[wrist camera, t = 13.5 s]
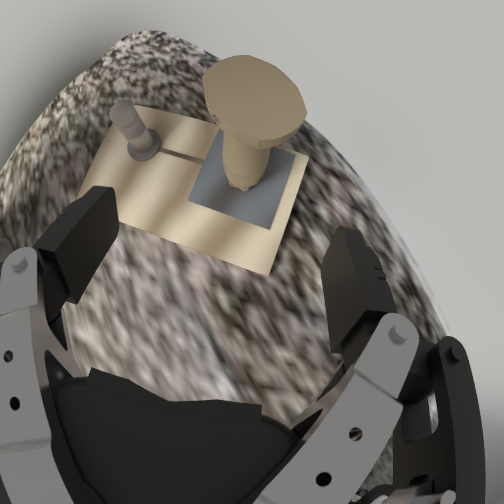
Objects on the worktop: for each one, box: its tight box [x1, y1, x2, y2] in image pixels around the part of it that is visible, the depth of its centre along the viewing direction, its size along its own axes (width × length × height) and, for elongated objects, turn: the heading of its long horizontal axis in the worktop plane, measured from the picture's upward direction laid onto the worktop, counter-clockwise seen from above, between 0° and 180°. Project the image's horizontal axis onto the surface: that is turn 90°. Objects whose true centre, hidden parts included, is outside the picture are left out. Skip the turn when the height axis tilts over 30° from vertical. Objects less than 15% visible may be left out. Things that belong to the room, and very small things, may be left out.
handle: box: [202, 55, 307, 191], centre depth 20 cm, size 5×6×15 cm
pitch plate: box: [76, 100, 309, 276], centre depth 24 cm, size 24×14×10 cm, turn 70°
